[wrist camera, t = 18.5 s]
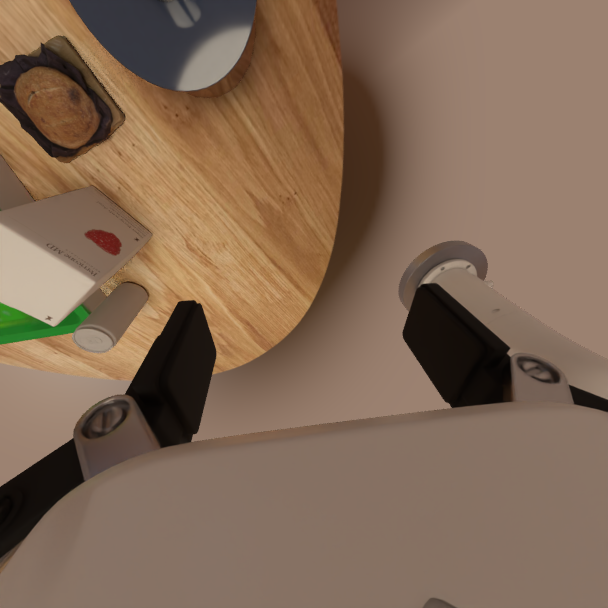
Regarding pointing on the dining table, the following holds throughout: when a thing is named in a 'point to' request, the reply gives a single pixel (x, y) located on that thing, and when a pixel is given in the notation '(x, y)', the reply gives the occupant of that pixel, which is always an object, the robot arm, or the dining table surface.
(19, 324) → the flat green box
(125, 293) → the beverage can
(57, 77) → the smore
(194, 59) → the lid
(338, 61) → the dining table surface
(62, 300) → the white product box
